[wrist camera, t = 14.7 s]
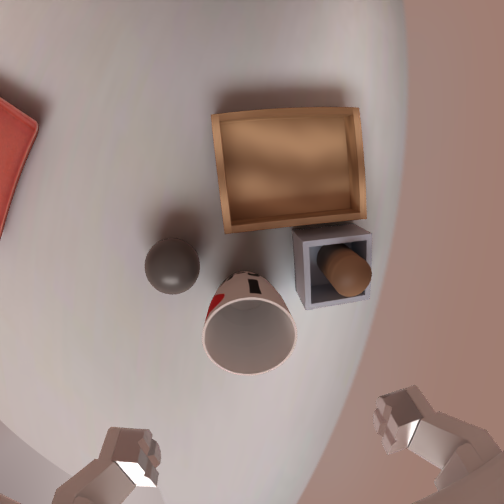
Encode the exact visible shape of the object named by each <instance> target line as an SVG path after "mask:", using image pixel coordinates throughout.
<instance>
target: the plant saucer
mask: <svg viewBox="0 0 504 504" xmlns="http://www.w3.org/2000/svg"><path fill="white" fill-rule="evenodd" d="M38 130H39V125H38V123H37V121H35V120H34V119H33V118H31V117H30V116H28V115H27V114H25V113H24V112H22V111H21V110H19V109H18V108H16V107H15V106H13V105H12V104H10V103H9V102H7V101H6V100H4V99H3V98H1V97H0V239H1V236H2V232H3V228H4V225H5V221H6V218H7V214H8V211H9V208H10V204H11V201H12V198H13V195H14V192H15V189H16V186H17V183H18V181H19V178H20V175H21V173H22V170H23V167H24V165H25V162H26V160H27V158H28V155H29V153H30V150H31V148H32V146H33V144H34V141H35V139H36V137H37V134H38Z"/></svg>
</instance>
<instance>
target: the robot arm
mask: <svg viewBox="0 0 504 504" xmlns="http://www.w3.org/2000/svg"><path fill="white" fill-rule="evenodd" d="M376 405H377V407H378V408H377V409H376V410H375V411H374V415H373V422H374V426H375V429H376V432H377V434H380V435H381V436H383V439H382V444H383V446H384V448H385V450H386V452H387V454H388V455H389V454H392V453H395V452H398V451H400V450H403V449H406V448H408V449H409V450H411V451H412V452H414V453H415V454H417V455H419V456H420V457H422V458H423V459H425V460H427V461H428V462H430V463H432V464H433V465H435V466H437V467H438V468H440V469H442V471H441V472H440V474H439V475H438V476H437V478H436V479H435V481H434V483H435V485H436V487H437V489H438V492H435V493H433V494H431V495H429V496H427V497H425V498H423V499H421V500H419V501H416V502H414V503H412V504H504V451H503V452H502V451H501V449H500V448H499V446H498V445H497V444H496V442H495V441H494V440H493V438H492V437H491V436H490V434H489V433H488V431H487V430H485V429H482V428H480V427H477V426H475V425H472V424H469V423H467V422H464V421H462V420H459V419H457V418H454V417H452V416H449V415H447V414H444V413H442V412H435V411H434V409H433V408H432V406H431V405H430V403H429V402H428V401H427V399H426V398H425V396H424V395H423V394H422V392H421V391H420V390H419V388H418V387H417V386H416V385H413V386H410V387H408V388H405V389H401V390H398V391H395V392H392V393H389V394H386V395H383V396H380V397H378V399H377V402H376ZM160 461H161V451H160V447H159V445H158V443H157V442H156V441H155V440H153V439H152V433H151V432H150V430H149V429H133V428H120V427H110V428H109V429H108V432H107V434H106V437H105V440H104V443H103V446H102V449H101V452H100V455H99V458H98V459H94V460H93V461H92V462H91V463H89V464H88V465H87V466H86V467H84V468H83V469H82V470H81V471H79V472H78V473H77V474H76V475H74V476H73V477H72V478H70V479H69V480H68V481H67V482H65V483H64V484H63V485H61V486H60V487H59V488H58V489H57V490H56V492H55V495H54V498H53V501H52V504H121V503H122V502H123V501H124V500H125V499H126V498H127V496H128V495H129V494H130V493H131V492H132V491H133V490H134V488H135V487H136V486H149V487H157V481H158V475H159V473H158V471H157V470H156V467H157V466H158V465H159V464H160ZM0 504H21V503H19V502H17V501H15V500H13V499H11V498H9V497H7V496H5V495H3V494H1V493H0Z"/></svg>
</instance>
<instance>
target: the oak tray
mask: <svg viewBox="0 0 504 504" xmlns="http://www.w3.org/2000/svg"><path fill="white" fill-rule="evenodd" d="M211 121H212V130H213V140H214V149H215V158H216V166H217V175H218V183H219V192H220V200H221V208H222V216H223V224H224V232H225V234H230V233H239V232H247V231H256V230H264V229H273V228H282V227H291V226H300V225H310V224H319V223H329V222H339V221H349V220H359V219H367V213H366V184H365V167H364V153H363V141H362V130H361V121H360V112H359V108H354V107H299V108H277V109H262V110H249V111H239V112H229V113H221V114H213V115H211Z"/></svg>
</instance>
